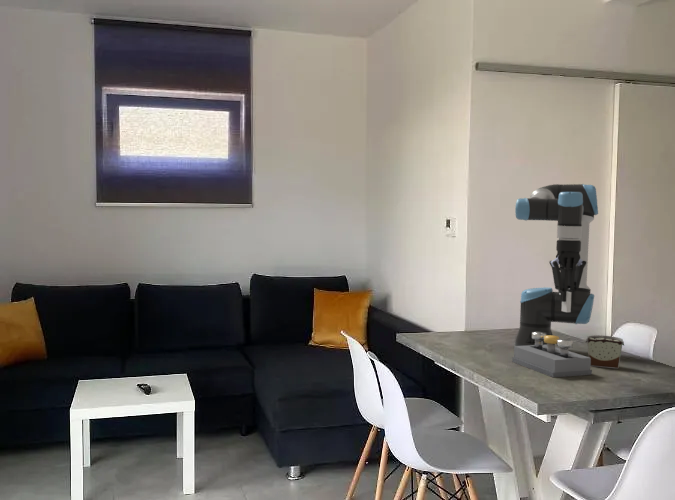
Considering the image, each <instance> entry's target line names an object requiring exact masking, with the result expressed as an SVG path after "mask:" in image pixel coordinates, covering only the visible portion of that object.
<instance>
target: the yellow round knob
mask: <svg viewBox="0 0 675 500" xmlns="http://www.w3.org/2000/svg"><path fill="white" fill-rule="evenodd" d="M558 339H560V336H558V335H553V334H552V335H545V336H544V342H545V343H547V352H548V353H551V354H554V355H555V347H556V345H557V340H558Z"/></svg>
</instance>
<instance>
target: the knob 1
mask: <svg viewBox="0 0 675 500" xmlns="http://www.w3.org/2000/svg"><path fill="white" fill-rule="evenodd" d="M545 335H546V333H544V332H532V339H535V348H536V349H539V350H542V348H543V340H544V336H545Z"/></svg>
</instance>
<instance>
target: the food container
mask: <svg viewBox="0 0 675 500" xmlns="http://www.w3.org/2000/svg"><path fill="white" fill-rule="evenodd" d="M585 343H587V353H588V355H587V356H588V357H589V358H591V366H590V367H596V368H597V367H598V368H609V369H619V368H620V361H621V355H622V349H623V346H625V341H624V340H623V338H621V337H617V336H611V335H602V334H601V335H600V334H598V335H597V334H595V335H593V334H592V335H588V336H587V338H586V340H585Z"/></svg>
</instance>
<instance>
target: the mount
mask: <svg viewBox="0 0 675 500" xmlns="http://www.w3.org/2000/svg"><path fill="white" fill-rule="evenodd" d="M511 362H512V363H514V364H517V365H520V366H522V367H525V368H527V369H529V370H532V371H535V372H537V373H540V374H542V375H543V374H544V375H546V376H548V377H551V378H560V377H561V378H563V377H575V376H576V377H577V376H589V375H590V376H591V375H592V374H593V373H592V372H593V370H592V369H591V367H592V366H591V358H589V356H585V355H583V354H579V353H576V352H574V351H570V350H569V354H568V358H563V357H560V347H558V346H555V355H554V354H551V353H548V352H547V345H543V348H542V350H539V349H536V348H535V345H528V346H515V345H514V346H513V357H511Z"/></svg>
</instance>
